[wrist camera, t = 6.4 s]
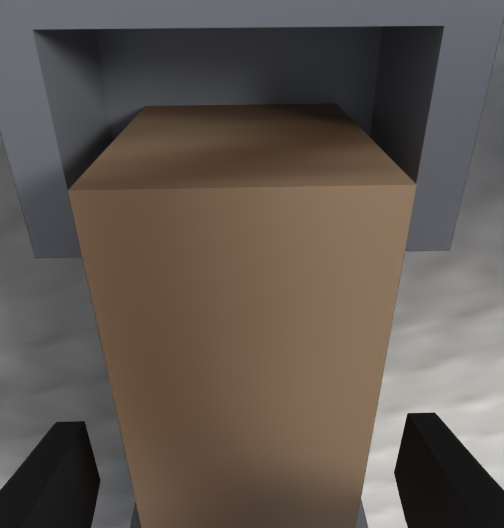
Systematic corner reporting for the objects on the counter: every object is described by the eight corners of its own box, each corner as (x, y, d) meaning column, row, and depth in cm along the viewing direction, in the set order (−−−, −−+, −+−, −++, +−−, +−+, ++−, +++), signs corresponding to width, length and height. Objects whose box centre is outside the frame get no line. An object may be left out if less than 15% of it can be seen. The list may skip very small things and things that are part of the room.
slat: (336, 102, 10) (416, 185, 5) (304, 506, 17) (327, 686, 12) (145, 105, 10) (67, 190, 5) (193, 509, 16) (177, 691, 12)
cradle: (433, -40, 9) (538, -64, 6) (343, 528, 18) (365, 636, 15) (40, -38, 9) (-69, -61, 6) (153, 533, 18) (135, 644, 15)
